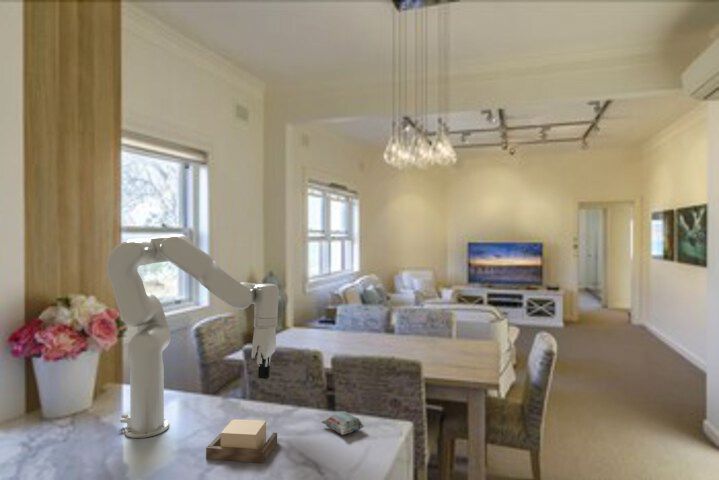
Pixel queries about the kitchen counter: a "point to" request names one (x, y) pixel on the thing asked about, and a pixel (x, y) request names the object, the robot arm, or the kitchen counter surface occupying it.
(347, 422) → the packaged food
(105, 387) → the kitchen counter surface
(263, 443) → the carton
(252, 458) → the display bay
